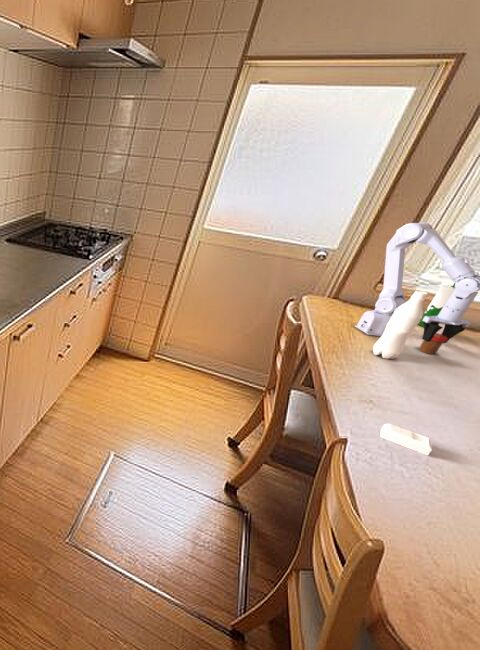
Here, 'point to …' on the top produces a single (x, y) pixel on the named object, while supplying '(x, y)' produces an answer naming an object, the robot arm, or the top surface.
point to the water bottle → (400, 326)
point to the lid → (439, 338)
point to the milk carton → (438, 302)
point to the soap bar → (406, 438)
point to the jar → (430, 346)
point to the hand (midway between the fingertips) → (433, 341)
